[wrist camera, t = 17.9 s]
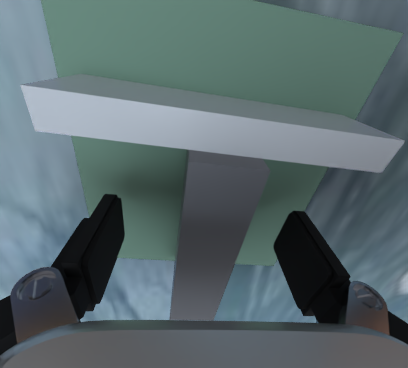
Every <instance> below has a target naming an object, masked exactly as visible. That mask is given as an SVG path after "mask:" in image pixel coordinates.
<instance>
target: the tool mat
mask: <svg viewBox="0 0 408 368" xmlns="http://www.w3.org/2000/svg"><path fill="white" fill-rule="evenodd" d="M41 3H42V7H43V12H44V16H45V21H46V25H47V30H48V34H49V39H50V43H51V47H52V52H53V56H54V61H55V65H56V70H57V74H58V78H60V77H66V76H71V75H77V74H85V75H92V76H98V77H104V78H111V79H117V80H123V81H130V82H136V83H143V84H149V85H155V86H162V87H168V88H174V89H181V90H187V91H193V92H200V93H206V94H213V95H219V96H225V97H232V98H238V99H244V100H251V101H257V102H263V103H270V104H276V105H283V106H289V107H295V108H302V109H308V110H314V111H321V112H327V113H333V114H340V115H344V116H346V117H349V118H351V119H354V120H356V118H357V116H358V114H359V112H360V111H361V109H362V107H363V105H364V103H365V102H366V100H367V98H368V96H369V94H370V93H371V91H372V89H373V87H374V86H375V84H376V82H377V80H378V78H379V77H380V75H381V73H382V71H383V69H384V68H385V66H386V64H387V62H388V60H389V59H390V57H391V55H392V53H393V52H394V50H395V48H396V46H397V44H398V43H399V41H400V39H401V37H402V35H403V34H404V33H400V32H396V31H391V30H387V29H382V28H377V27H373V26H368V25H364V24H359V23H354V22H350V21H345V20H341V19H336V18H332V17H327V16H322V15H318V14H313V13H309V12H304V11H299V10H295V9H290V8H286V7H281V6H276V5H272V4H267V3H263V2H258V1H253V0H41ZM71 137H72V141H73V146H74V150H75V155H76V159H77V164H78V168H79V173H80V177H81V181H82V186H83V190H84V195H85V199H86V204H87V208H88V213H89V217H90V216H91V214H92V213H93V211H94V210H95V208H96V207H97V205H98V203H99V202H100V200H101V199H102V197H103V195H104V194H115V195H117V196H118V198H121V200H122V210H123V220H124V230H125V237H124V241H123V243H122V246H121V249H120V252H119V254H118V257H117V258H132V259H151V260H170V261H175V254H176V245H177V236H178V227H179V218H180V209H181V201H182V192H183V183H184V174H185V165H186V156H187V149H179V148H171V147H162V146H154V145H146V144H138V143H129V142H121V141H113V140H105V139H97V138H88V137H80V136H72V135H71ZM263 160H264V162H265V163H266V165H267V166H268V168H269V169H270V174H269V176H268V179H267V181H266V184H265V187H264V189H263V192H262V194H261V197H260V200H259V202H258V205H257V208H256V210H255V213H254V215H253V218H252V221H251V223H250V226H249V228H248V231H247V234H246V236H245V239H244V241H243V244H242V247H241V249H240V252H239V255H238V257H237V260H236V262H235V264H246V265H265V266H274V264H275V263H276V261H277V256H276V254H275V251H274V248H273V245H274V242H275V240H276V238H277V236H278V234H279V232H280V230H281V228H282V226H283V224H284V222H285V220H286V218H287V216H288V214H289V213H291V212H292V211H305V209H306V207H307V205H308V204H309V202H310V200H311V198H312V196H313V195H314V193H315V191H316V189H317V187H318V186H319V184H320V182H321V180H322V179H323V177H324V175H325V173H326V171H327V170H328V168H329V167H327V166H319V165H311V164H302V163H294V162H286V161H278V160H269V159H263Z"/></svg>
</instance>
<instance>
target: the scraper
mask: <svg viewBox="0 0 408 368" xmlns="http://www.w3.org/2000/svg"><path fill="white" fill-rule="evenodd" d="M21 88H22V91H23V94H24V97H25V101H26V104H27V107H28V110H29V113H30V116H31V119H32V122H33V126H34V129H35V131H39V132H47V133H55V134H64V135H72V136H80V137H88V138H97V139H105V140H113V141H121V142H129V143H138V144H146V145H154V146H162V147H171V148H179V149H187V156H186V165H185V174H184V183H183V192H182V201H181V209H180V218H179V227H178V236H177V245H176V254H175V265H174V276H173V287H172V298H171V309H170V320H212V321H213V320H214V317H215V315H216V312H217V309H218V307H219V304H220V302H221V299H222V296H223V294H224V291H225V288H226V286H227V283H228V281H229V278H230V275H231V273H232V270H233V268H234V265H235V262H236V260H237V257H238V255H239V252H240V249H241V247H242V244H243V241H244V239H245V236H246V234H247V231H248V228H249V226H250V223H251V221H252V218H253V215H254V213H255V210H256V208H257V205H258V202H259V200H260V197H261V194H262V192H263V189H264V187H265V184H266V181H267V179H268V176H269V174H270V169H269V168H268V166H267V165H266V163H265V162H264V160H263V159H269V160H278V161H286V162H294V163H302V164H311V165H319V166H327V167H335V168H343V169H352V170H360V171H368V172H376V173H382V172H383V170H384V169H385V168H386V166H387V165H388V164H389V162H390V161H391V160H392V158H393V157H394V156H395V154H396V153H397V151H398V150H399V149H400V147H401V146H402V145H403V143H404V142H405V141H404V140H402V139H400V138H397V137H395V136H392V135H390V134H387V133H385V132H383V131H380V130H378V129H375V128H373V127H370V126H368V125H366V124H363V123H361V122H358V121H356V120H354V119H351V118H349V117H346V116H344V115H340V114H333V113H327V112H321V111H314V110H308V109H302V108H295V107H289V106H283V105H276V104H270V103H263V102H257V101H251V100H244V99H238V98H232V97H225V96H219V95H213V94H206V93H200V92H193V91H187V90H181V89H174V88H168V87H162V86H155V85H149V84H143V83H136V82H130V81H123V80H117V79H111V78H104V77H98V76H92V75H85V74H77V75H71V76H66V77H60V78H55V79H49V80H44V81H38V82H33V83H27V84H22V85H21Z"/></svg>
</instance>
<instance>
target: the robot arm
mask: <svg viewBox="0 0 408 368" xmlns="http://www.w3.org/2000/svg"><path fill="white" fill-rule="evenodd" d="M124 237H125V230H124V220H123V210H122V200H121V198H118V196H117V195H115V194H104V195H103V197H102V199H101V200H100V202H99V203H98V205H97V207H96V208H95V210H94V211H93V213H92V214H91V216H90V218H84V219H83V220H82V221H81V222H80V224H79V225H78V227H77V228H76V230H75V231H74V233H73V234H72V236H71V237H70V239H69V240H68V242H67V243H66V245H65V246H64V248H63V249H62V251H61V252H60V254H59V255H58V257H57V258H56V260H55V261H54V263H53V264H52V266H51V267H43V268H39V269H36V270H33V271H31V272H30V273H28V274H26V275H25V276H23V277H22V278H21V279H20V280H19V281H18V282H17V283H16V284H15V285H14V287H13V289H12V291H11V295H10V296H8V297H6V298H4V299H2V300H0V368H408V324H407V323H406V322H404V321H403V320H401V319H400V318H398V317H397V316H395V315H394V314H392V313H391V312H389V311H388V309H387V305H386V303H385V301H384V299H383V298H382V297H381V295H380V294H379V293H378V292H377V291H376V290H375V289H373V288H372V287H370V286H369V285H367V284H365V283H363V282H359V281H353V282H350V280H349V278H350V275H349V274H348V272H347V271H346V269H345V268H344V267H343V265H342V264H341V262H340V261H339V259H338V258H337V257H336V255H335V254H334V252H333V251H332V250H331V248H330V247H329V245H328V244H327V242H326V241H325V240H324V238H323V237H322V235H321V234H320V232H319V231H318V230H317V228H316V227H315V225H314V224H313V223H312V221H311V220H310V218H309V217H308V215H307V214H306V213H305V212H304V211H292V212H291V213H289V214H288V216H287V218H286V220H285V222H284V224H283V226H282V228H281V230H280V232H279V234H278V236H277V238H276V240H275V242H274V245H273V248H274V251H275V254H276V256H277V259H278V261H279V263H280V266H281V268H282V271H283V273H284V276H285V278H286V281H287V283H288V285H289V288H290V290H291V293H292V295H293V298H294V300H295V302H296V305H297V307H298V308H299V309H301V312H302V314H303V316H314V315H315V317H316V323H295V322H249V321H186V320H103V321H87V322H81V321H80V319H81V318H83V316H84V314H85V312H86V311H93V310H94V307H95V305H96V304H99V303H100V302H101V300H102V297H103V294H104V292H105V289H106V286H107V284H108V281H109V278H110V276H111V273H112V270H113V268H114V265H115V262H116V260H117V257H118V254H119V252H120V249H121V246H122V243H123V241H124Z"/></svg>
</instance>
